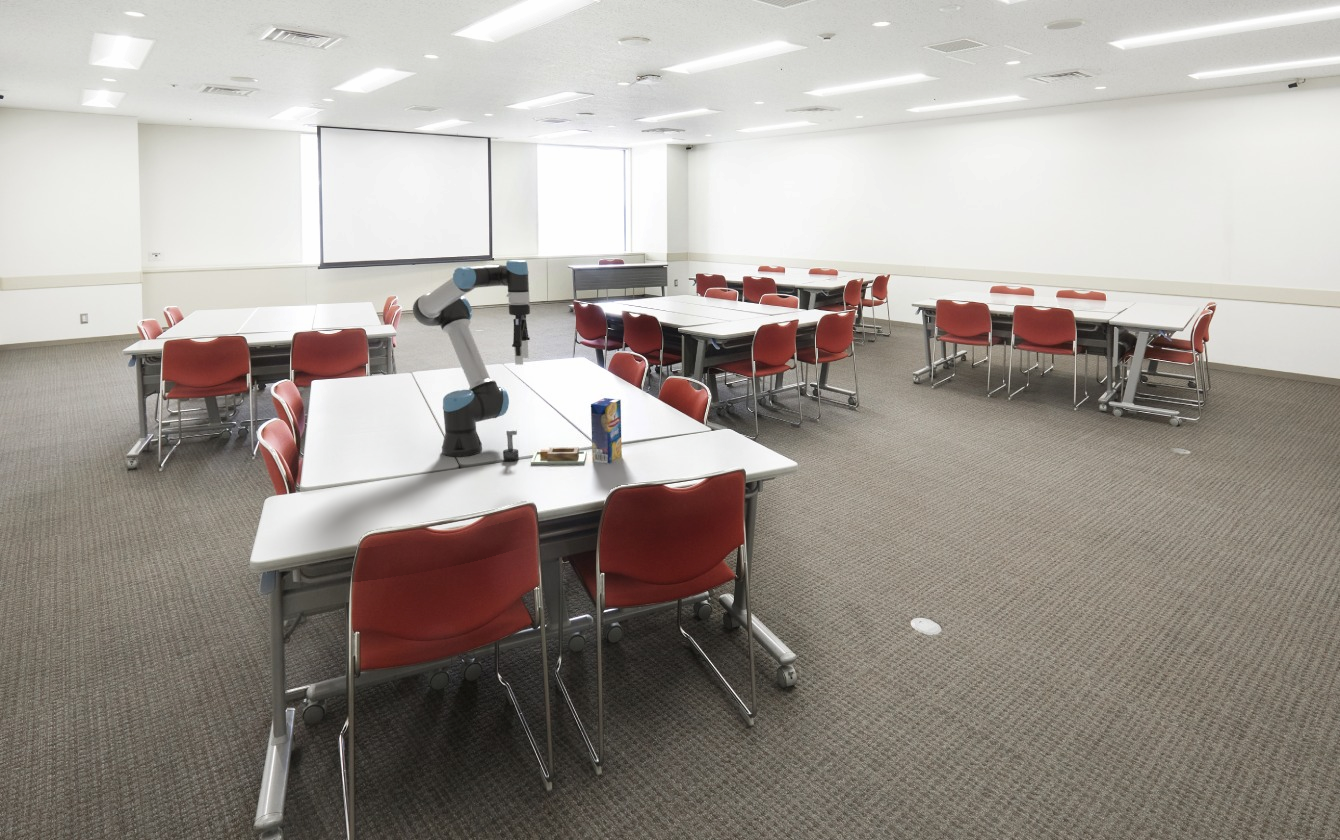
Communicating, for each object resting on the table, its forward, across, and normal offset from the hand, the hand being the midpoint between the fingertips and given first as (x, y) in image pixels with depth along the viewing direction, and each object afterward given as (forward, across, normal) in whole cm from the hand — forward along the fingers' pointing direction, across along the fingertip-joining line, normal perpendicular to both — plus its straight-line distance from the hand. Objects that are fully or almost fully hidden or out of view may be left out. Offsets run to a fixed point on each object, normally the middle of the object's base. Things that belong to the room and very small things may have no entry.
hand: (522, 361), depth 277 cm
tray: (+37, +6, +13) cm, 39 cm away
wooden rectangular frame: (+36, +6, +13) cm, 39 cm away
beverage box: (+37, +5, +31) cm, 48 cm away
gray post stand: (+37, +5, -5) cm, 37 cm away
